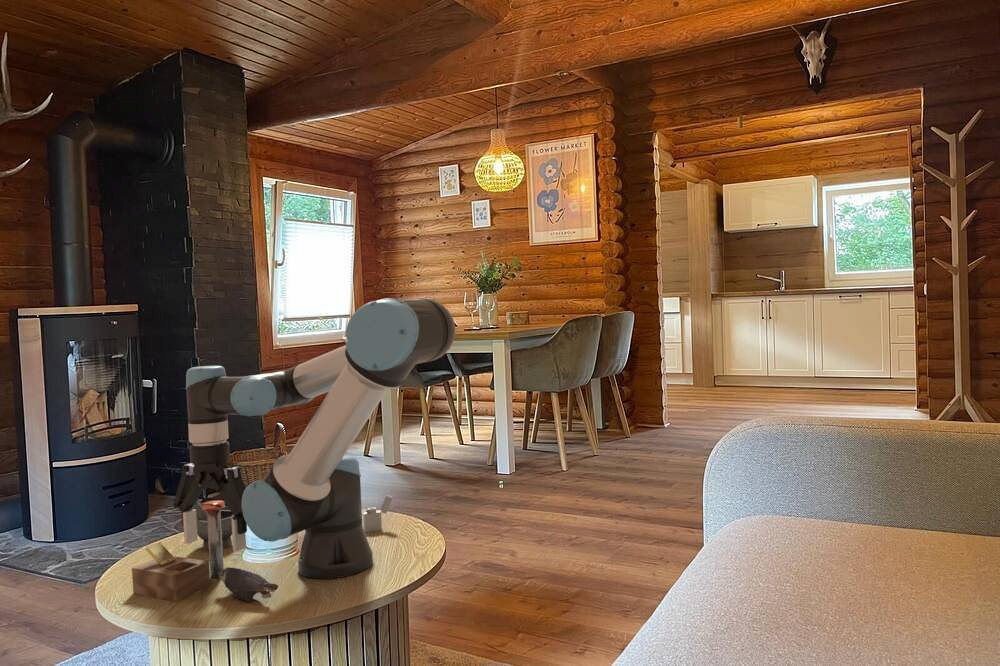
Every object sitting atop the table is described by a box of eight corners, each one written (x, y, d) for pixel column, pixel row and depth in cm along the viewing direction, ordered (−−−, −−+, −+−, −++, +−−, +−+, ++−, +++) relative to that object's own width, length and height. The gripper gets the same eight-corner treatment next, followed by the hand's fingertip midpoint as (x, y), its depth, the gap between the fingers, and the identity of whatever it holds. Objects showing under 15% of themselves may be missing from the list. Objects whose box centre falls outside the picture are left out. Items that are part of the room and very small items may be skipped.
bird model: (266, 610, 136) (264, 583, 136) (208, 594, 146) (207, 568, 145) (285, 602, 140) (284, 575, 140) (228, 586, 149) (227, 561, 149)
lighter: (364, 532, 182) (363, 498, 182) (363, 530, 184) (362, 497, 183) (394, 528, 184) (392, 495, 184) (393, 526, 186) (391, 493, 185)
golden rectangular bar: (174, 562, 150) (176, 558, 150) (161, 567, 148) (162, 564, 147) (158, 545, 152) (160, 541, 152) (144, 549, 149) (146, 546, 149)
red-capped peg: (233, 573, 157) (229, 501, 156) (216, 580, 153) (212, 506, 152) (217, 571, 159) (213, 499, 158) (201, 578, 155) (196, 505, 154)
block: (210, 586, 150) (209, 561, 150) (176, 601, 143) (175, 575, 142) (167, 579, 155) (166, 554, 155) (133, 593, 148) (131, 567, 148)
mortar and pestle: (240, 536, 183) (237, 487, 182) (238, 548, 174) (235, 496, 173) (190, 542, 180) (187, 492, 179) (185, 554, 171) (182, 501, 170)
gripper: (269, 441, 152) (274, 546, 153) (181, 436, 164) (186, 534, 165) (241, 448, 146) (246, 558, 147) (151, 442, 157) (157, 544, 158)
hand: (215, 545), depth 156 cm, fingers open, 13 cm apart
